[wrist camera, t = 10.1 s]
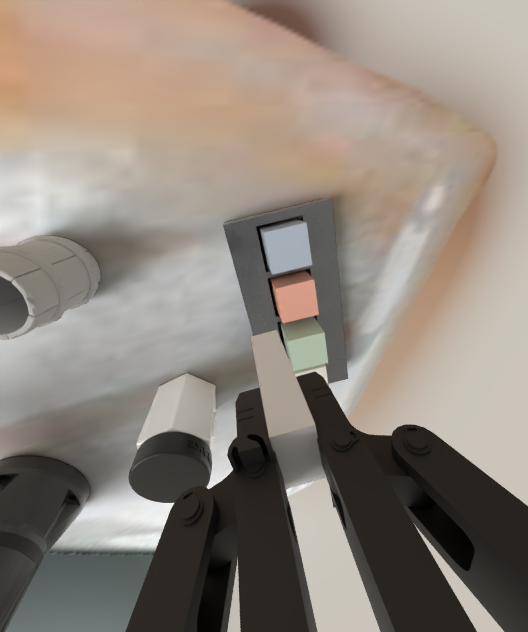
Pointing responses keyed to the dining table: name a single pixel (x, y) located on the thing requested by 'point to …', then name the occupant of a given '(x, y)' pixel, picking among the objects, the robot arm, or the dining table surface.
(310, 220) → the key panel
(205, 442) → the jar
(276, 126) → the dining table surface
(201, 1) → the dining table surface
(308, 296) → the key coral
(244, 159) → the dining table surface
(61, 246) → the mug
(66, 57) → the dining table surface
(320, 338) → the key sage
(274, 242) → the key slate
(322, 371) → the key ivory
